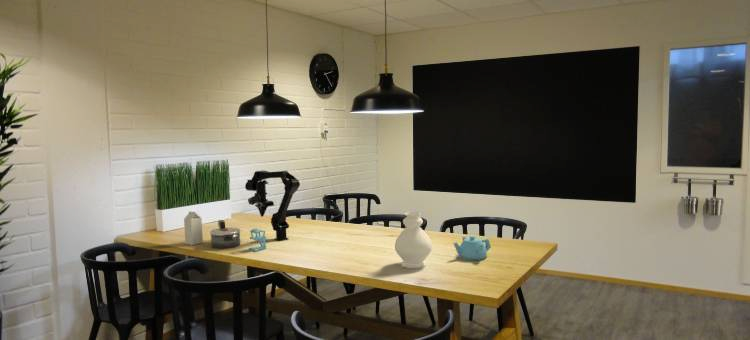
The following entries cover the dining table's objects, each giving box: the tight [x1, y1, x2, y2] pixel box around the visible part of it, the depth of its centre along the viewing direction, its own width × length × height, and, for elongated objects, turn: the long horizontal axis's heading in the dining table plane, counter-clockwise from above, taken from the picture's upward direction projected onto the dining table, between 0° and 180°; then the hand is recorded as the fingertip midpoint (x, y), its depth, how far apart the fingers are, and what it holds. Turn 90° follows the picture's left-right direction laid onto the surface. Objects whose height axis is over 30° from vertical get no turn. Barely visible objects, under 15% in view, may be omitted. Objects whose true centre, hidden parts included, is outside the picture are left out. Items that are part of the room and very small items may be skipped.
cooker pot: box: [210, 232, 241, 250], centre depth 308 cm, size 26×16×7 cm, turn 24°
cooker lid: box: [209, 219, 241, 236], centre depth 308 cm, size 23×17×5 cm
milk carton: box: [183, 211, 204, 246], centre depth 313 cm, size 7×7×19 cm
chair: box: [248, 228, 267, 253], centre depth 293 cm, size 8×8×12 cm
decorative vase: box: [394, 211, 433, 269], centre depth 253 cm, size 18×18×25 cm
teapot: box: [453, 235, 491, 261], centre depth 264 cm, size 15×15×11 cm
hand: (262, 216), depth 324 cm, fingers closed
